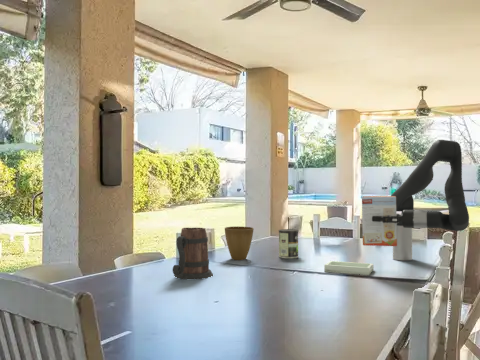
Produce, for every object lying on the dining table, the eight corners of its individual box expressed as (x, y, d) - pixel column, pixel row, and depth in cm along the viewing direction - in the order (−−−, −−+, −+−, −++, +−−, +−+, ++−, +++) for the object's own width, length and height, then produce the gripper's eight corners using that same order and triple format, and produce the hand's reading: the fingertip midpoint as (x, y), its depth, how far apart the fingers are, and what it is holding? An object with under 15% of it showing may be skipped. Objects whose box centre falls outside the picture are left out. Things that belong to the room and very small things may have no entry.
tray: (330, 267, 211) (330, 260, 211) (373, 270, 203) (373, 263, 203) (324, 271, 202) (324, 264, 202) (369, 275, 193) (369, 268, 193)
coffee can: (299, 255, 246) (299, 229, 246) (297, 258, 236) (297, 231, 236) (279, 255, 248) (279, 228, 248) (277, 258, 238) (277, 230, 238)
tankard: (186, 270, 207) (186, 225, 207) (220, 273, 200) (220, 227, 200) (156, 280, 186) (156, 231, 186) (193, 284, 179) (193, 232, 179)
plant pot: (219, 260, 232) (219, 228, 232) (231, 256, 246) (231, 226, 246) (247, 262, 227) (247, 229, 227) (257, 257, 240) (257, 226, 240)
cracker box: (397, 244, 198) (396, 195, 198) (397, 246, 192) (396, 196, 192) (363, 243, 202) (362, 195, 202) (362, 245, 196) (361, 196, 196)
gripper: (416, 208, 198) (375, 208, 205) (413, 211, 184) (370, 210, 191) (416, 226, 198) (376, 225, 205) (413, 229, 184) (370, 228, 191)
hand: (373, 218), depth 198 cm, fingers closed on cracker box, 6 cm apart
